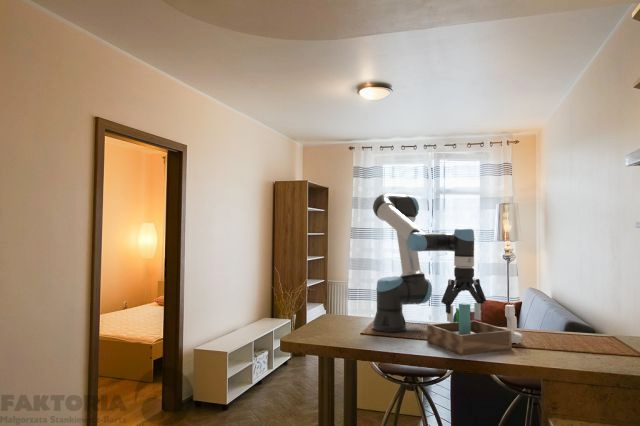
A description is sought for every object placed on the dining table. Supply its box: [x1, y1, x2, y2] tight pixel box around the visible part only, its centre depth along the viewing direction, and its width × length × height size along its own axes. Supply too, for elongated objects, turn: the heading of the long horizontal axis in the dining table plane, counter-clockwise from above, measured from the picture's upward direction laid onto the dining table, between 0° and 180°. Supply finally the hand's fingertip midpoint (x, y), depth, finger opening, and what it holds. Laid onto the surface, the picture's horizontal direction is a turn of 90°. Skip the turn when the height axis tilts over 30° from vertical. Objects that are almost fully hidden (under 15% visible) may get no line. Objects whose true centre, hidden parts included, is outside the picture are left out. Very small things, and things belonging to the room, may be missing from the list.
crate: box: [426, 321, 513, 356], centre depth 168 cm, size 20×24×7 cm
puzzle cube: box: [455, 307, 483, 323], centre depth 190 cm, size 10×10×10 cm
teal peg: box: [458, 302, 471, 335], centre depth 170 cm, size 4×4×15 cm
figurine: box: [504, 304, 524, 345], centre depth 173 cm, size 7×9×15 cm
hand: (463, 320), depth 170 cm, fingers open, 13 cm apart
